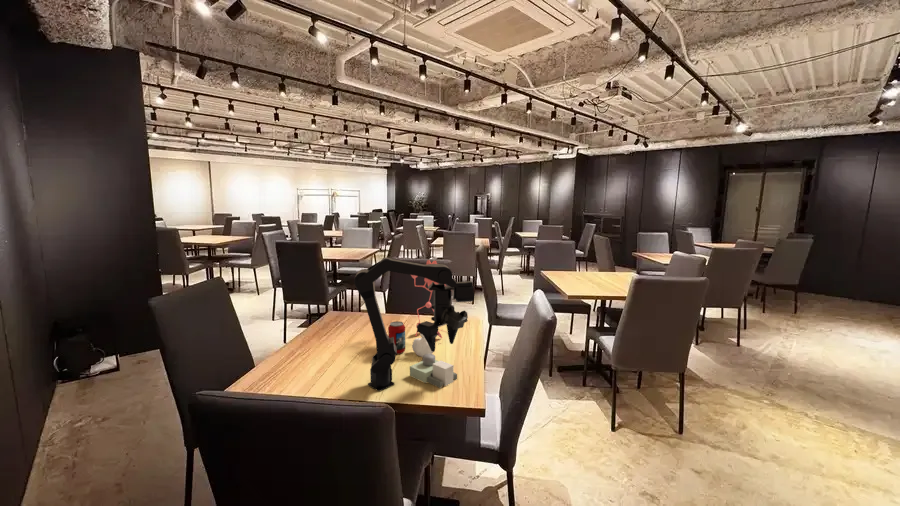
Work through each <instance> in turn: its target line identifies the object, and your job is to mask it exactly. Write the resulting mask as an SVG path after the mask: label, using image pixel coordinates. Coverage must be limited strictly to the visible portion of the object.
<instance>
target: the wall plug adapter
mask: <svg viewBox="0 0 900 506" xmlns="http://www.w3.org/2000/svg"><path fill="white" fill-rule="evenodd" d="M438 361H439V360H437V359H436V355H435V354H433V353H432V354H425V355H423V357H422V360H421V361H419V362H416V363H415V364H412V365H410V366H409V376H410V377H412V378H414V379H416V380H418V381H420V382H422V383H424V384H426V383H428V384H431V385H432V386H435V387H438V388H439V389H441V388H443V385H442V381H441V380H438V379H436V378H434V377H433V364H434V363H436V362H438ZM453 379H454V380H453V381H456V379H457V380H458V373H456V372H454V371H453Z"/></svg>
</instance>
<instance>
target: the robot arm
mask: <svg viewBox="0 0 900 506" xmlns="http://www.w3.org/2000/svg"><path fill="white" fill-rule="evenodd" d="M387 272H391V273H397V274H398V273H399V274H404V275H408V276H409V275H410V276H411V275H415V276H418V277H421V278H422V277H423V278H424V279H425V278H427V279H429V280H431V281H434V282H437V283H438V284H435V283H434V282H432V284H431V285H429V286H428V285H427V288H428V289H429V290H430V291H432V290H433V304H431V307H430V308H431V310H432V309H433V310H434V312H433V316H431V318H430V319H431V321H433V322H431V321H427V320H426V321H423V322H420V323H419V322H418V323H419V324H418V325H417V324H416V325H417V327H416V332H418V333H419V335H420V334H423V336H424V337H425V339H426V341H427V343H428V345H429V347H430V349H431V351H432V352H433V353H435V352H436V351H435V350H436V342H437V341H436V340H437V339H436V337H437V336H438V333H437V332H438V331H439V328H441V327H443V326H446V330H447V331H446V332H448V333H447V337H448V340H449V344H451V345H453V344H454V342H455V339H456V335H457V333H458V331H459V329H462V328H464V327H465V323H467V322H468V319H469V317H468V312H467V311H466V310H462V311H460V312H459V311H455V306H454V305H453V304H452V299H453V300H455V302H456V303H467V302H469V303H471V302H475V301H474V300H475V292H474V286H473V282H472V281H471V280H467V281H457V280H455V278H453V272H452V271H451V268H449V267H448V265H446V264H444V263H437V264H432V263H431V264H428V265H425V264H422V263H416V262H411V261H405V260H400V259H395V258H390V257H386V256H385V257H383V258H381V260H379V261H378V262H376V263H373V265H371V266H369V267H368V268H363V269H359V270H358V271H357V273H356V274H355V276H354V279H353V284H354V286H355V289H356V290H357V292H358V294H359V296H360V297H361V298H362V300H363V302H364V305H365V309H366V312H367V315H368V319H369V322H370V325H371V328H372V331H373V336H374V339H375V347H376V349H375V350H376V353H375V354H374V355H372V357H371V365H370V369H369V370H370V372H369V373H370V382H368V383H367V386H369V387H370V388H372V389H374V390H376V391H377V392H381V391H383V390H385V389H388V388H389V387H392V386H394V385H395V382H394V381H393V369H392V365H394V363H395V361H396V355H398V354H397V346H396V345H395V343H394V337H391V338H389V336H388V333H387V330H386V327H385V323H384V320H383V317H382V314H381V313H382V312H381V309H380V307H379V302H378V300H377V296H376V284H375V281H377V280H378V279H379V278H380V277H382V276H383V275H384V274H385V273H387ZM444 284H445V285H447V286H445V285H444ZM430 291H429V292H430Z"/></svg>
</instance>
